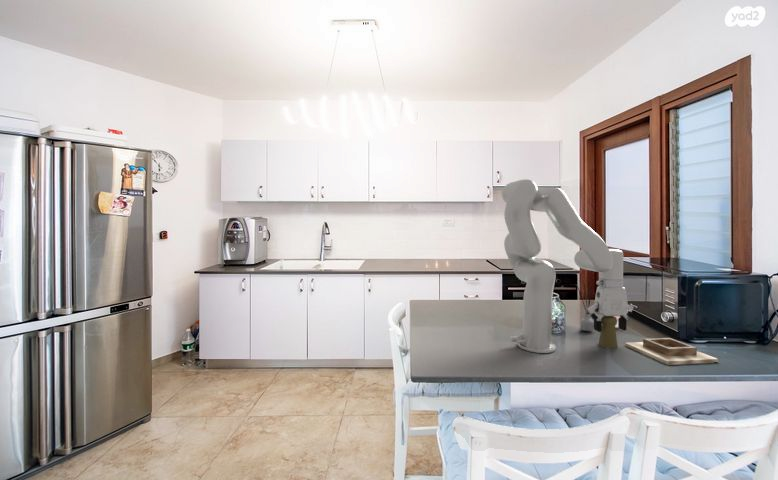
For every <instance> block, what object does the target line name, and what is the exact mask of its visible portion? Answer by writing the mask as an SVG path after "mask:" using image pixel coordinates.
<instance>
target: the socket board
mask: <svg viewBox="0 0 778 480" xmlns="http://www.w3.org/2000/svg"><path fill="white" fill-rule="evenodd" d="M642 340H643V341H638V342H637V341H635V342H634V341H632V342H625V343H624V346H625V347H626V348H629V349H631V350H633V351H635V352H638V353H640V354H642V355H644V356H646V357H648V358H652V359H653V360H655V361H658V362H659V363H662V364H665V365H667V366H673V365H676V366H677V365H695V364H696V365H697V364H713V363H714V362H718V363H719V359H718V358H717V357H714V356H711V355H708V354H706V353H703V352H701V351H698V348H697V347H696V346H693V345H691V344H688V343H686V342H683V341H680V340H677V339H674V338H671V337H660V338H659V337H658V338H653V337H652V338H643V339H642ZM714 364H715V363H714Z"/></svg>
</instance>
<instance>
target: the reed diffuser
mask: <svg viewBox="0 0 778 480" xmlns="http://www.w3.org/2000/svg"><path fill="white" fill-rule="evenodd" d="M584 285H586V282H585V281H584ZM576 286H577V290H578V293H579V295H580V298H581V301H582V304H583V307H584V310H585V313H584V317H582V318H581V320H580V330H582V331H585V332H593V331H594V319H592V317H591V316H590V315H589V312H588V310H587V308H589V307H590V306H591V305H590V304H591V297H592V288H593V286H592V285H591V287H590V291H589V299H588V298H587V296H585V302H586V305H588V306H586V305H585V302H584V301H583V300H584V299H583V297H582V294H581V292H580V287H579V285H578V284H576ZM584 292H585V294H584V295H587V289H586V286H584ZM587 299H588V300H587Z"/></svg>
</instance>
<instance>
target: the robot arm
mask: <svg viewBox="0 0 778 480" xmlns="http://www.w3.org/2000/svg"><path fill="white" fill-rule="evenodd" d="M501 197H502V200H503V201H504V203H506V204H505V208H504V221H505V225H506V227H507V230H508V233H507V235H506V236H505V238H504V242H503V243H504V244H503V246H504V251H505V255H506V256H507V258H508V261H509V263H510V266H511V268H512V271H513V272H514V274H515V277H516V278H518V280H520V281H522V282H524V283H526V285H525V288H524V292H523V298H522V299H523V303H522V304H523V306H522V307H523V308H522V311H523V312H522V314H523V316H522V318H523V319H522V332H519V335H517V336H515V335H512V336H509V342H511V343H514V342H515V343H516V344H517V346H518V347H519V348H520V349H522V350H525V351H527V352H531V353H536V354H537V353H538V354H548V353H549V354H550V353H554V352H555V351H556V349H557V348H556V347H557V346H556V345H555V344H554V343H553V342H552V328H553V327H552V322H553V321H552V320H553V298H554V297H553V296H554V295H553V294H554V287H555V283H556V278H557V275H556V269H555V267H554V266H553V265H552V263H550V262H549V261H547V260H545V259H541V258H538V257H537V256H538V255H539V254H540V253H541V250H542V243H541V239H540V238H539V236H538V235H539V234H538V233H537V231H536V228H535V225H534V222H533V220H532V217H531V211H534V212H537V213H538V212H540V213H544V212H545V214H546V215H547V216H548V218H549V219H550V221H551V223H552V224H553V226H554V228H555V229H556V230H557V232H558V233H559V235H561V236H562V237H564V238H565V239H567V240H568V241H571V242H573V243H574V244H576V245H577V246H578V247H579V248H580V250H578V251H577V252H576V253H575V255H574V258H573V259H574V263H575V265H576V266H577V267H578V268H580V269H583V270H587V271H590V272H591V271H593V272H597V273H598V280H596V282H595V283H596V285H598V286H597V287H596V292H595V296H594V297H595V299H594V304H592V305H590V306H588V308H587V307H586V311H587V310H588V312H589V315H590V318H591V319H592V320H593V321H594V329H593V331H595V332H599V333H601V331H602V322H601V318H602V317H603V316H620V318H619V319H618V330H622V331H627V323H628V321H627V320H629V318H630V316H631V315H632V312H633V310H634V306H633V305H631V304H628V295H627V290H626V287H624V252H623V250H620V249H616V248H609V247H608V245H607V244H606V242H605V241H604V240H603V239H602V237H601V236H600V235H599V234H598V233H597V232H595V230H593V229H592V228H591V227H590V226H588V224H586V223H585V222H584V221H583V220H582V218H581V217H580V216H579V214H578V212H577V210H576V209H575V207H574V205H573V204H572V202H571V201H570V199H569V198H568V196H567V194H566V193H565V191H564V190H562V189H561V188H559V187H546V188H538V185H537V184H536V182H534V181H533V180H532V179H528V178H527V179H519V180H515V181H512V182H509V183H507V184H506V185H505V186H503V189H502V190H501Z"/></svg>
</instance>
